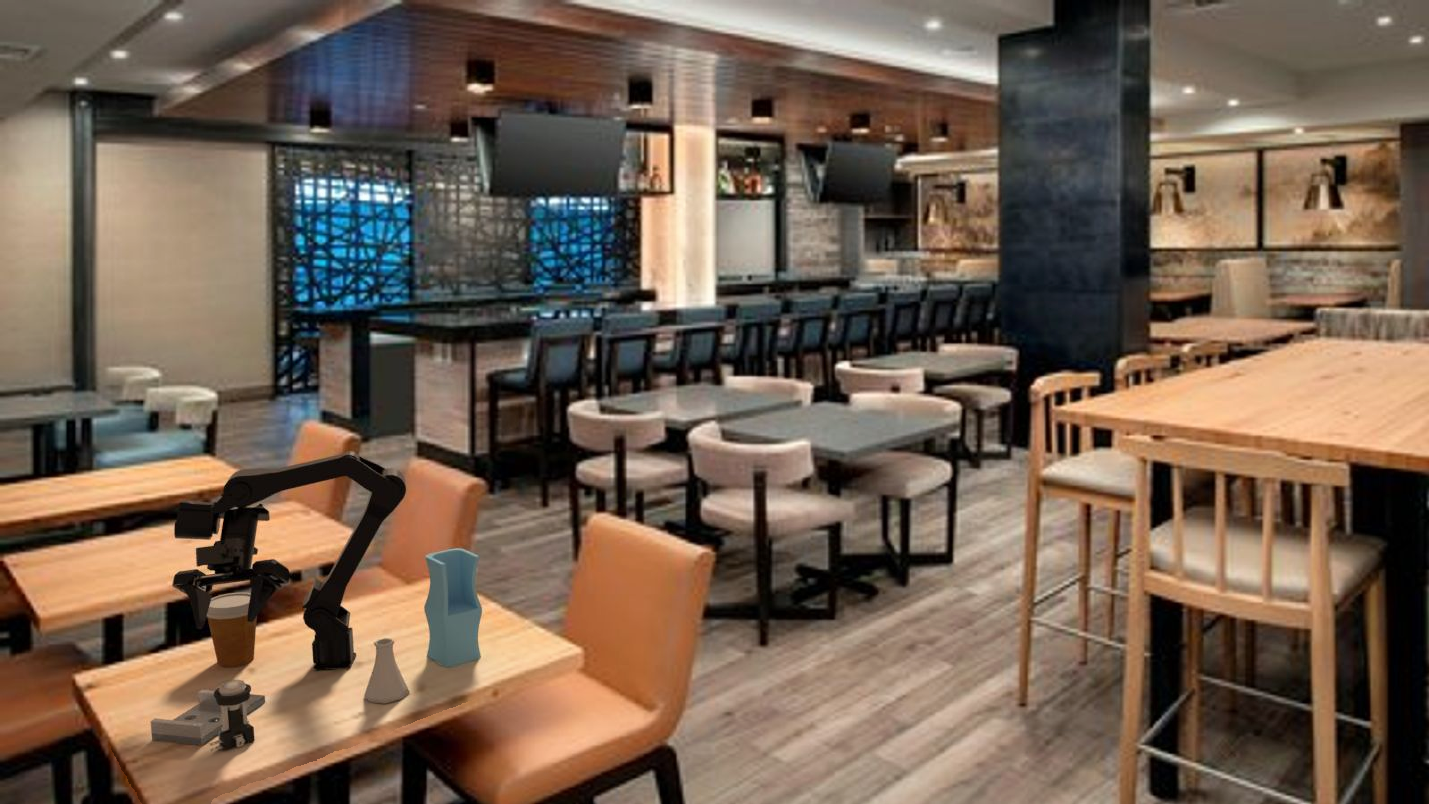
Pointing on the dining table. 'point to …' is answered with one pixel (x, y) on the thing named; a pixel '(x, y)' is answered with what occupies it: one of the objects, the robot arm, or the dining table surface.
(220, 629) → the disposable coffee cup
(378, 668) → the flask
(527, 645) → the dining table surface
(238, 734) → the push button
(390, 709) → the dining table surface
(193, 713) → the bracket
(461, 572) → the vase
